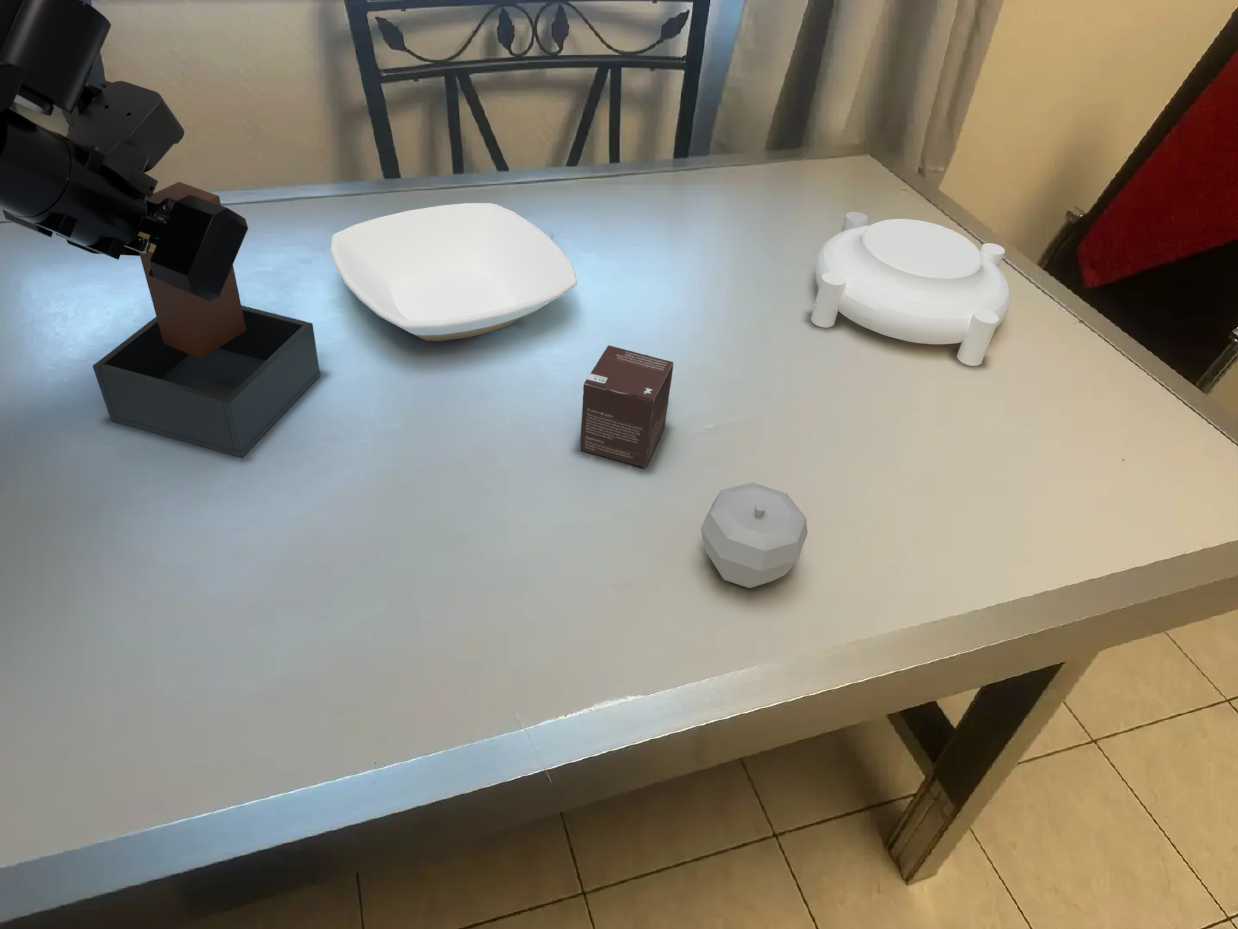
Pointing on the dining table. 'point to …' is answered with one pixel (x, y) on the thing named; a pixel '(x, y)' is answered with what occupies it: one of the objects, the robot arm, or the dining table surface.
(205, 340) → the chocolate carton
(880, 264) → the round stand with pegs
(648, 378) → the box
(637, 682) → the dining table surface
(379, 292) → the bowl
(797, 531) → the apple
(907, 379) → the dining table surface
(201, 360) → the open storage bin
